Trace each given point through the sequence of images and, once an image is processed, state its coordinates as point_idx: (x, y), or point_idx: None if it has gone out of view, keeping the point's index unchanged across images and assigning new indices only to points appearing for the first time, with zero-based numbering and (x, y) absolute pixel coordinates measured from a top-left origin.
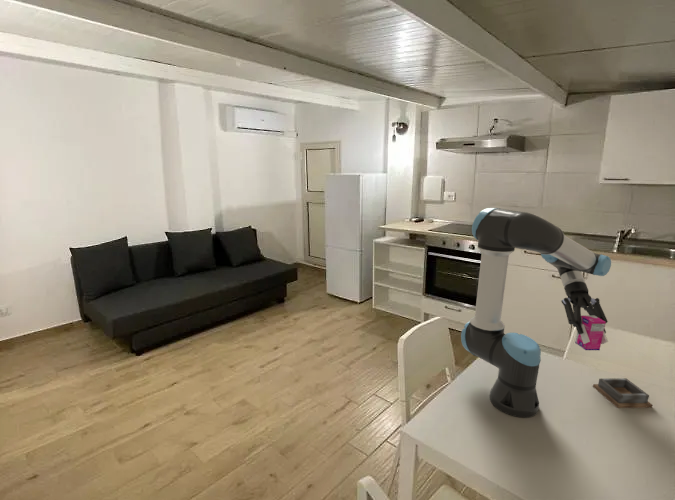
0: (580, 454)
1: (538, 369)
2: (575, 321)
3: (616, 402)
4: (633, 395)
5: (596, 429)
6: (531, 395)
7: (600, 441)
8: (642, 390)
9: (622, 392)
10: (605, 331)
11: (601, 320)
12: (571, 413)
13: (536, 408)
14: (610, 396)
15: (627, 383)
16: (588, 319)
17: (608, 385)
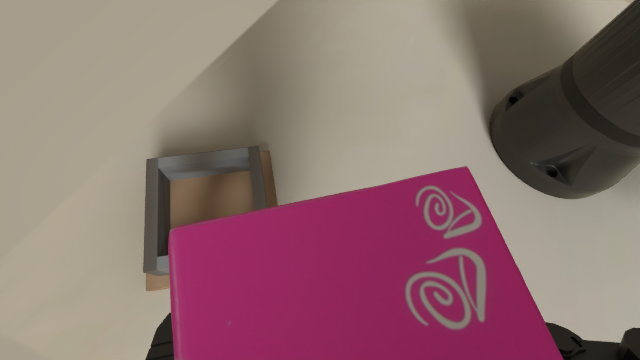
0: (428, 15)
1: (624, 15)
2: (630, 344)
3: (265, 163)
4: (208, 152)
5: (370, 73)
6: (554, 68)
7: (378, 43)
8: (147, 185)
9: None
10: (160, 333)
11: (229, 282)
12: (410, 118)
13: (509, 93)
14: (265, 193)
15: (160, 247)
16: (503, 273)
17: (263, 202)
